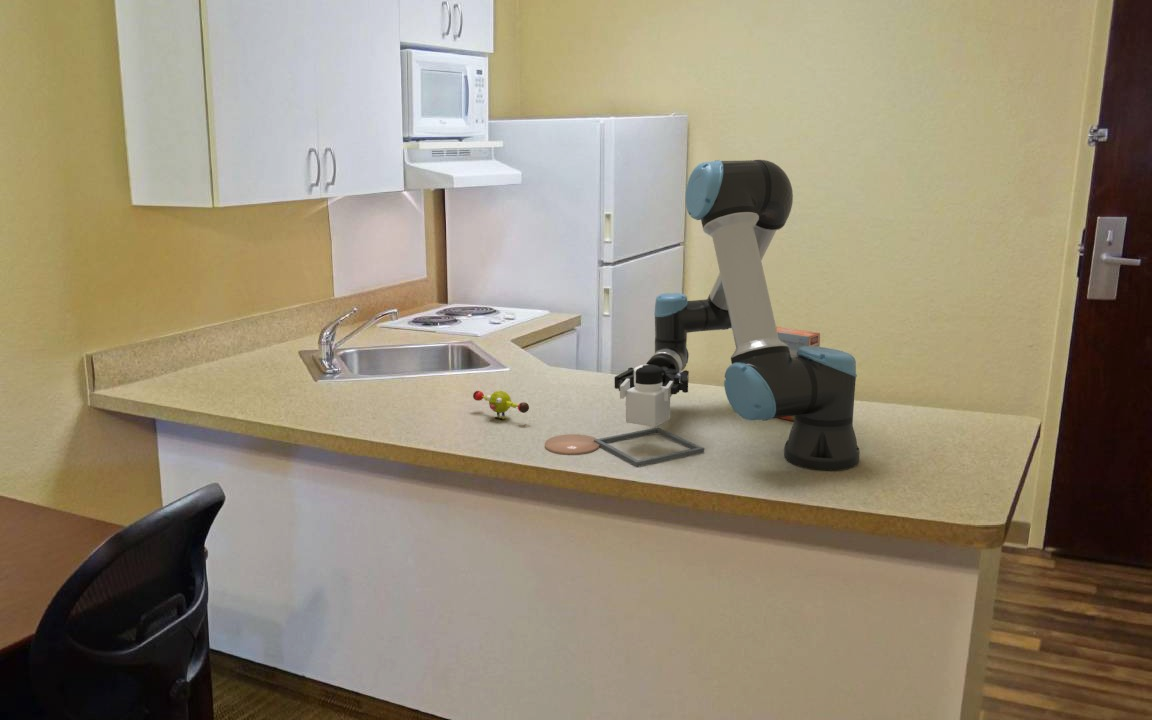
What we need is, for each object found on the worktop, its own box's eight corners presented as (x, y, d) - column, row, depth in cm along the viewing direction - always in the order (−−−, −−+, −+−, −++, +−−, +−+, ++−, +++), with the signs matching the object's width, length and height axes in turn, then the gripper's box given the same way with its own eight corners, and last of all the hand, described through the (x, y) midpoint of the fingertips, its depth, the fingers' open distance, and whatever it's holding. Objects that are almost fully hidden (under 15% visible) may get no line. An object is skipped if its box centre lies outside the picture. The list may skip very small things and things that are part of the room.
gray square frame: (703, 452, 203) (704, 448, 203) (636, 467, 195) (636, 462, 194) (658, 431, 217) (658, 427, 217) (593, 444, 209) (593, 439, 209)
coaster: (610, 448, 206) (610, 445, 206) (561, 458, 200) (561, 455, 200) (582, 433, 216) (582, 431, 216) (535, 442, 210) (535, 439, 210)
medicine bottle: (670, 419, 206) (671, 364, 203) (655, 427, 200) (655, 371, 197) (641, 414, 209) (641, 361, 207) (625, 422, 204) (625, 367, 201)
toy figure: (465, 414, 232) (465, 387, 230) (482, 409, 236) (482, 382, 234) (518, 429, 220) (517, 400, 218) (535, 423, 224) (534, 395, 222)
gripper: (709, 387, 218) (695, 414, 197) (617, 382, 224) (593, 407, 202) (710, 354, 216) (695, 378, 195) (617, 350, 222) (593, 373, 201)
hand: (643, 393), depth 199 cm, fingers closed on medicine bottle, 9 cm apart
